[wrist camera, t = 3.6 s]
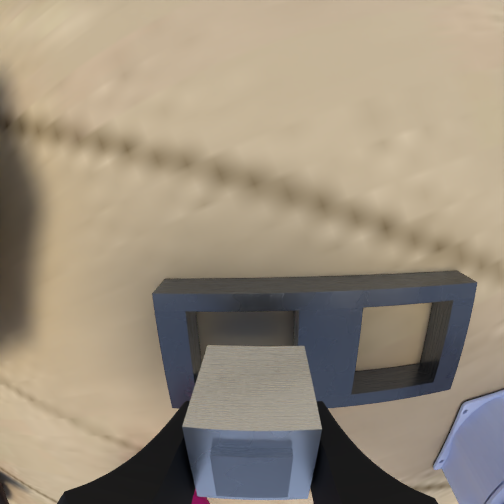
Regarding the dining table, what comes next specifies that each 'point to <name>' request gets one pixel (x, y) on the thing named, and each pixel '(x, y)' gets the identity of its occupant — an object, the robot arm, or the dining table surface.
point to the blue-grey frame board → (323, 328)
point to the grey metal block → (253, 424)
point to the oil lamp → (3, 496)
